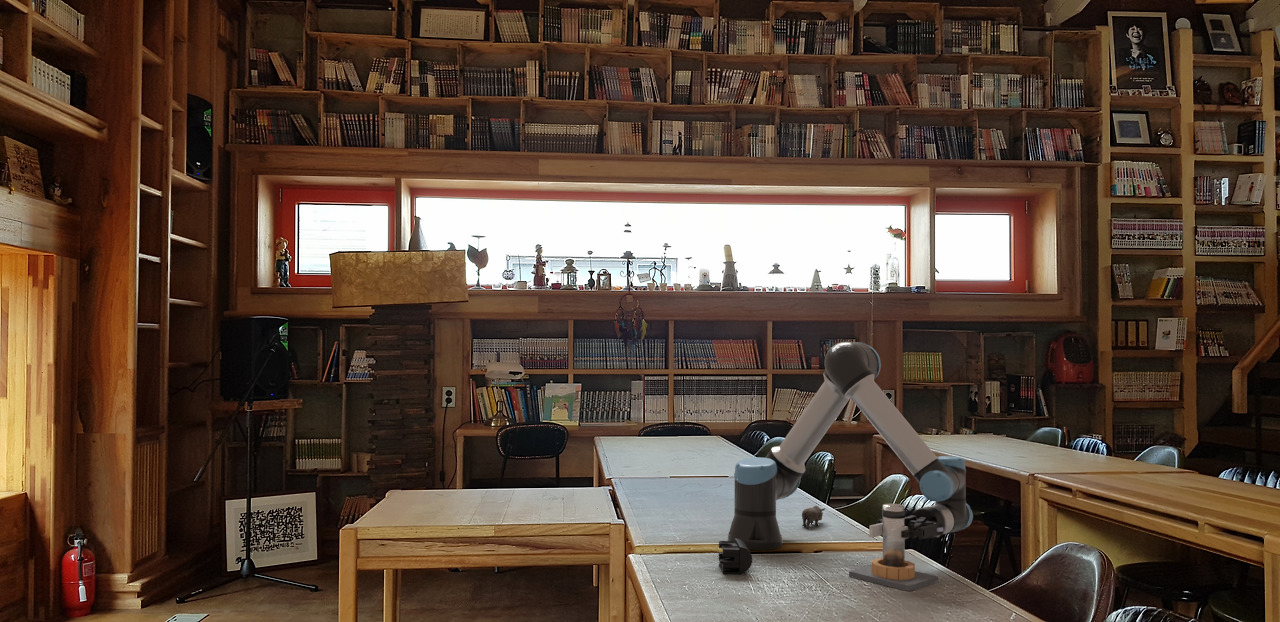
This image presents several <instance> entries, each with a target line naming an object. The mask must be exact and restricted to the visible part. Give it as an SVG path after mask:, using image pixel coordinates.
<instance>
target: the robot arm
mask: <svg viewBox="0 0 1280 622" xmlns="http://www.w3.org/2000/svg"><path fill="white" fill-rule="evenodd" d="M881 367H882V363H881V358H880V356H879V353H878V352H877V351H876V350H875V349H874V348H873V347H872V346H870V345H868V344H866V343H865V342H861V341H856V342H852V341H841V342H838V343H836V344H834V345H832V347H830V348H829V349H828V351H827V352H826V355H825V357H824V369H825V370H824V372H823V379H824V382H823V383H822V384H821V386H820V387H819V389H818V390H817V391H816V393H815V395H814V396H813V397H812V399H811V400H810V401H809V403H808V405H807V406H806V408H805V409H804V410H803V412H802V413H801V415H799V417H798V419H797V420H796V421H795V423H794V424H793V426H792V428H791V429H790V430H789V431H788V433H787V434H786V436H785V438H784V439H783V441H782V442H781V443H780V445H777V446H776V445H775V446H773V447H771V448H770V450H769V452H768V453H767V455H766V456H765V457H760V456H757V457H748V458H747V457H746V458H743V459H740V460H738V461H737V462H736V463H735V467H734V473H733V476H734V477H733V478H734V506H733V507H734V515H733V519H732V521H731V524H730V527H729V532H728V533H727V541H735V538H737V539H740V540H742V541H743V542H744V543H745V545H746V547H747V548H748V550H752V551H753V550H754V551H757V550H759V551H766V550H768V551H769V550H774V549H779V548H781V547H782V546H783V537H782V534H781V531H780V527H779V523H778V520H777V501H778V500H782V499H786V498H788V497H790V496H791V495H793V494H794V493H796V491H797V490H798V487H799V486H800V483H801V478H802V477H803V475H804V474H805V472H806V466H805V463H806V462H807V460H809V457H810V456H811V454H812V453H813V452H814V450H815V448H816V447H817V446H818V445H819V443H820V442H821V440H822V439H823V437H824V436H825V434H826V433H827V432H828V430H829V429H830V427H831V426H832V425H833V424H834V422H835V420H837V417H839V415H840V414H841V412H842V411H843V410H844V407H845V406H846V405H847V404H848V403H849V400H850V399H851V401H853V402H854V404H855V405H856V406H857V407H858V409H859V411H861V413H862V414H863V415H864V417H866V419H867V420H868V421H869V423H870V424H871V425H872V427H874V428H875V430H876V431H877V432H878V433H879V435H880V436H881V438H882V439H883V440H884V441H885V443H886V444H887V445H888V446H889V447H890V449H891V450H892V451H893V452H894V453H895V455H896V456H897V457H898V459H900V461H901V462H902V464H903V465H904V466H905V467H906V468H907V470H908V471H909V472H910V474H911V475H912V476H913V477H914V478H915V480H916V481H917V483H918V484H919V489H920V492H921V494H922V495H923V496H924V497H925V499H927V500H929V501H931V502H934V503H935V504H933V505H929V506H923V507H920V508H918V509H916V510H914V512H913V513H912V515H908V516H905V518H904V527H899V528H895V529H891V541H892V542H895V541H899V540H903V539H905V540H907V539H909V538H910V539H916V538H917V540H924V539H933V538H939V537H940V536H942V535H946V534H950V533H954V532H960V531H962V530H964V529H967V528H968V527H969V526H970V525H971V524H972V522H973V519H974V514H973V510H972V509H971V506H970V505H969V504H968V503H967V498H966V495H967V494H966V493H967V492H966V488H967V487H966V485H967V484H966V481H967V480H966V477H967V476H966V475H967V474H966V473H967V469H966V460H965V459H964V458H963V457H959V456H952V455H941V456H940V455H939V456H937V455H936V454H935V453H934V452H933V451H932V450H931V448H930V447H929V446H928V445H927V444H926V442H925V441H924V440H923V438H922V437H921V436H920V435H919V433H918V432H917V431H916V430H915V429H914V428H913V427H912V425H911V424H910V423H909V422H908V420H907V419H906V418H905V417H904V416H903V414H902V413H901V412H900V411H899V410H898V408H897V407H896V406H895V405H894V404H893V402H892V401H891V400H890V399H889V397H888V396H887V395H886V394H885V392H884V391H883V390H882V389H881V387H880V386H879V384H877V383H876V382H875V379H877V378H878V376H879V374H880V371H881ZM875 523H876V524H875ZM875 523H874V524H871V525H869V531H868V532H869V536H868V537H869V538H872V539H873V538H876V537H877V538H878V537H881V536H883V518H880V519H877V520H876V521H875Z"/></svg>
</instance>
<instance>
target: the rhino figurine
mask: <svg viewBox="0 0 1280 622" xmlns="http://www.w3.org/2000/svg"><path fill="white" fill-rule="evenodd" d="M825 510H826V508H825V507H824V508H820V507H819V506H818V505H814V506H813V507H808V508H805V509H803V510H802V512H801V519H802V526H806V527H805V529H806V528H811V526H810V523H811V524H812V523H814V526H815V525H818V524H819V521H822V519H823V514H824V513H823V511H825ZM802 526H801V527H802Z"/></svg>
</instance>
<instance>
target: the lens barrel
mask: <svg viewBox="0 0 1280 622" xmlns="http://www.w3.org/2000/svg"><path fill="white" fill-rule="evenodd" d="M881 516H882V519H883V535H882V558H883V565H885V566H890V567H904V566H905V560H906V559H905V558H906V556H905V545H906V544H905V541H906V539H903V540H899V541H895V542H892V541H891V529H895V528H899V527H904V518H905V517H906V510H905V505H903V504H899V503H883V504H882V509H881Z"/></svg>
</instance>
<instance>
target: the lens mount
mask: <svg viewBox="0 0 1280 622" xmlns="http://www.w3.org/2000/svg"><path fill="white" fill-rule="evenodd" d="M915 566H916V564H915V563H913V562H911V561H909V560H906V559H905V566H904V567H890V566H885V565H883V557H881V558H880V557H878V558H875V559H872V560H871V564H869V565H866V566H863V567H859V568H855V569H853V570H851V569H850V570H849V571H848V577H850V578H855V579H859V580H863V581H866V582H869V583H874V584H879V585H882V586H886V587H890V588H894V589H897V590H902V591H905V590H906V592H912V591H915V590H917V589H920V588H923V587H927V586H930V585H933V584H935V583H938V582H939V576H937V575H933V574H929V573H924V572H920V571H916V567H915Z"/></svg>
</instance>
